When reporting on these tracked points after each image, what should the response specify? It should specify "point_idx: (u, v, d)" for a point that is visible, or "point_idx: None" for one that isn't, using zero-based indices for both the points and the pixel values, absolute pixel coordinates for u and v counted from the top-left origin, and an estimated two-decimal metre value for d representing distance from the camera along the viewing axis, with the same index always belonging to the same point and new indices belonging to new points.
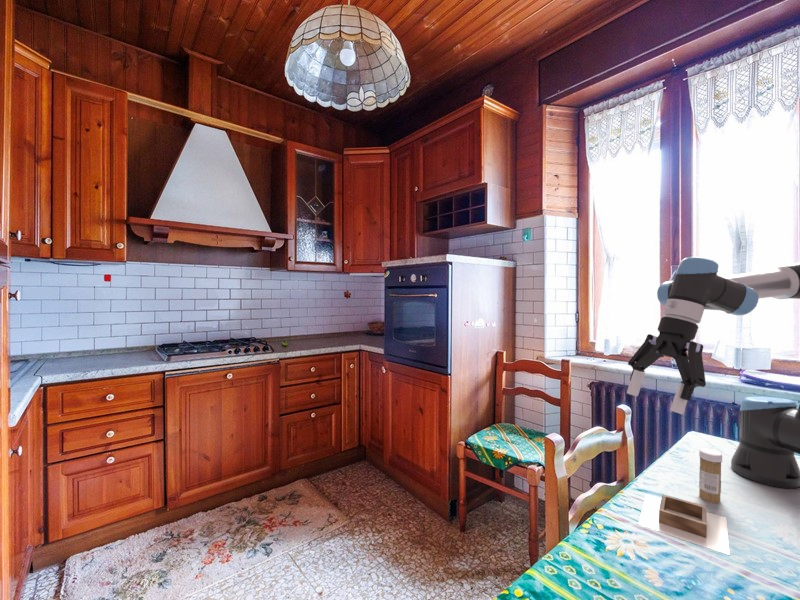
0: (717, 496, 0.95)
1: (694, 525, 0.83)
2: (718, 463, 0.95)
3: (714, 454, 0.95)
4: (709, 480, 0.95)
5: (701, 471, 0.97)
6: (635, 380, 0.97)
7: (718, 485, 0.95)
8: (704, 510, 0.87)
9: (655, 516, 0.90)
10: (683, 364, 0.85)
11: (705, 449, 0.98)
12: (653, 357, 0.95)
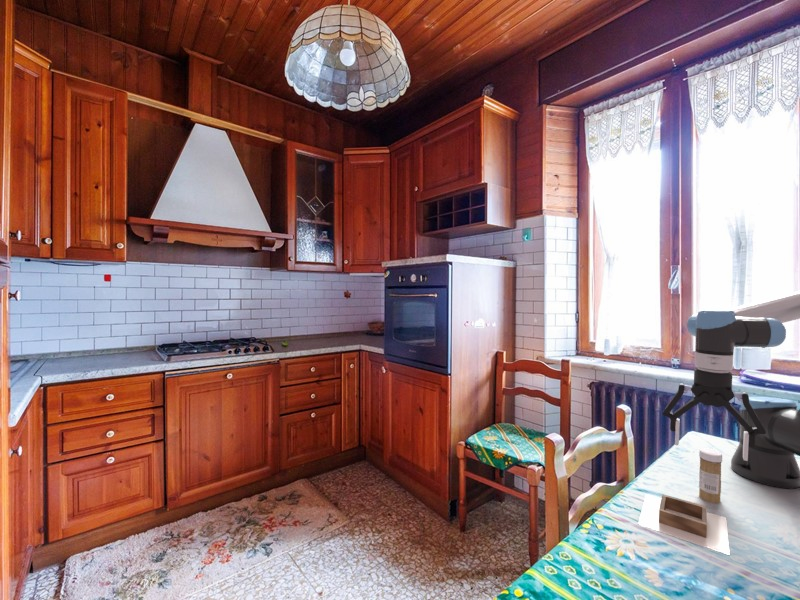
0: (717, 496, 0.95)
1: (694, 525, 0.83)
2: (718, 463, 0.95)
3: (714, 454, 0.95)
4: (709, 480, 0.95)
5: (701, 471, 0.97)
6: None
7: (718, 485, 0.95)
8: (704, 510, 0.87)
9: (655, 516, 0.90)
10: (739, 414, 0.92)
11: (705, 449, 0.98)
12: (692, 406, 0.99)
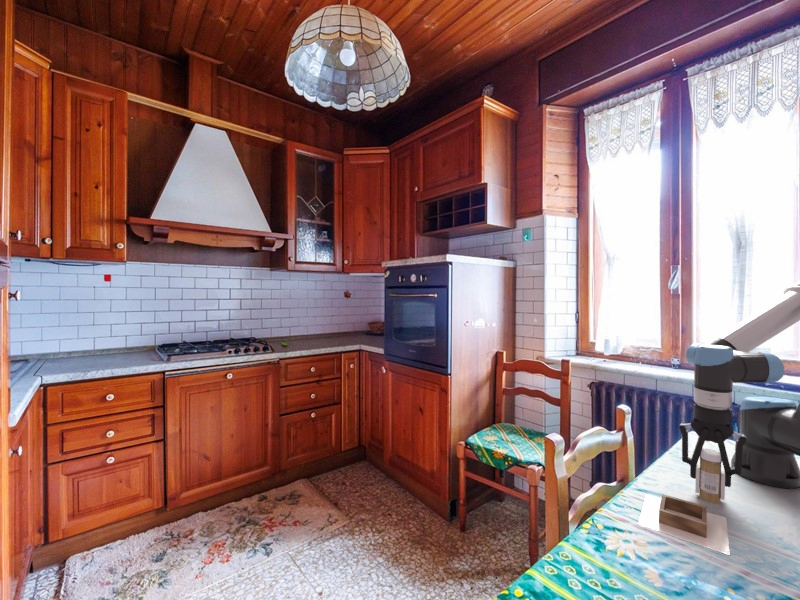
0: (717, 496, 0.95)
1: (694, 525, 0.83)
2: (718, 463, 0.95)
3: (714, 454, 0.95)
4: (709, 480, 0.95)
5: (701, 471, 0.97)
6: None
7: (718, 485, 0.95)
8: (704, 510, 0.87)
9: (655, 516, 0.90)
10: (726, 454, 0.94)
11: (705, 449, 0.98)
12: (702, 446, 0.98)
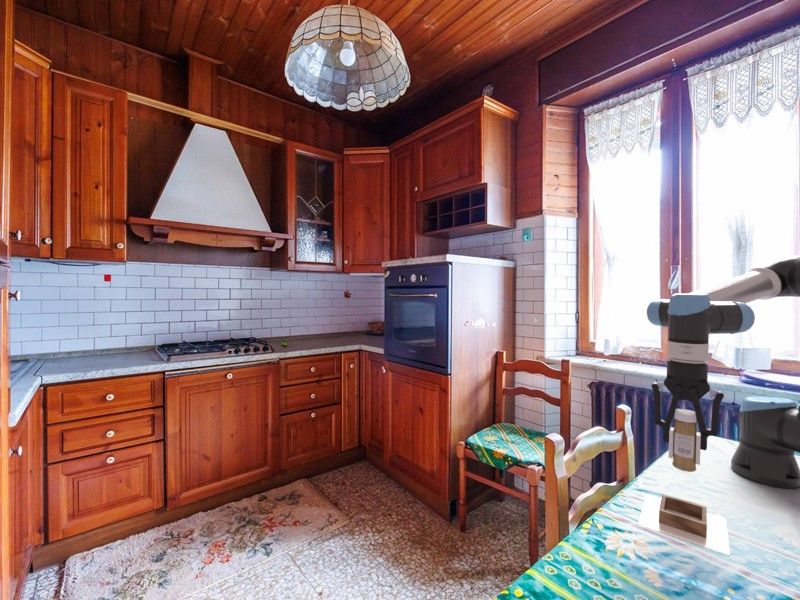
0: (692, 460, 0.85)
1: (694, 525, 0.83)
2: (693, 424, 0.85)
3: (688, 414, 0.85)
4: (683, 443, 0.86)
5: (675, 433, 0.87)
6: None
7: (693, 448, 0.85)
8: (704, 510, 0.87)
9: (655, 516, 0.90)
10: (702, 414, 0.85)
11: (680, 409, 0.88)
12: (676, 406, 0.88)
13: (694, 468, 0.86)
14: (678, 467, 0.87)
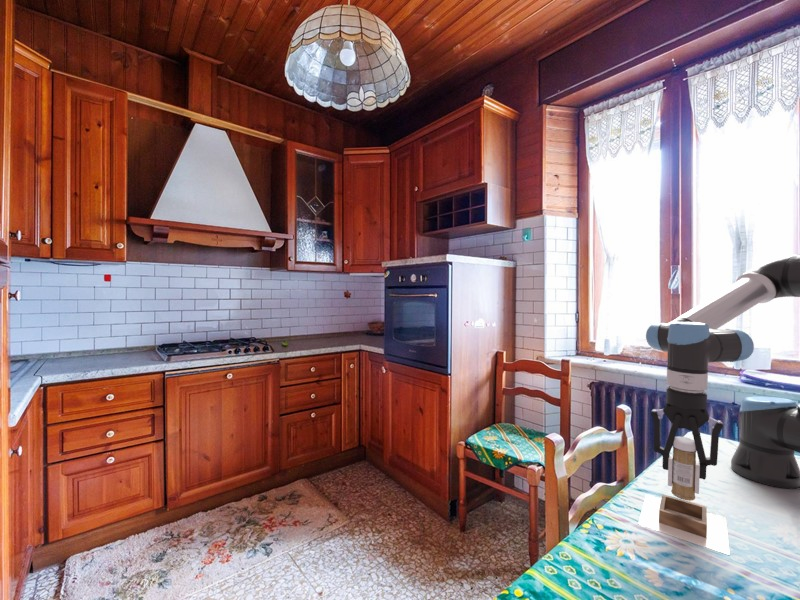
0: (691, 489, 0.86)
1: (694, 525, 0.83)
2: (692, 453, 0.85)
3: (688, 442, 0.85)
4: (683, 472, 0.86)
5: (674, 461, 0.88)
6: None
7: (692, 477, 0.85)
8: (704, 510, 0.87)
9: (655, 516, 0.90)
10: (701, 443, 0.85)
11: (679, 437, 0.88)
12: (675, 434, 0.88)
13: (693, 497, 0.86)
14: (677, 495, 0.87)
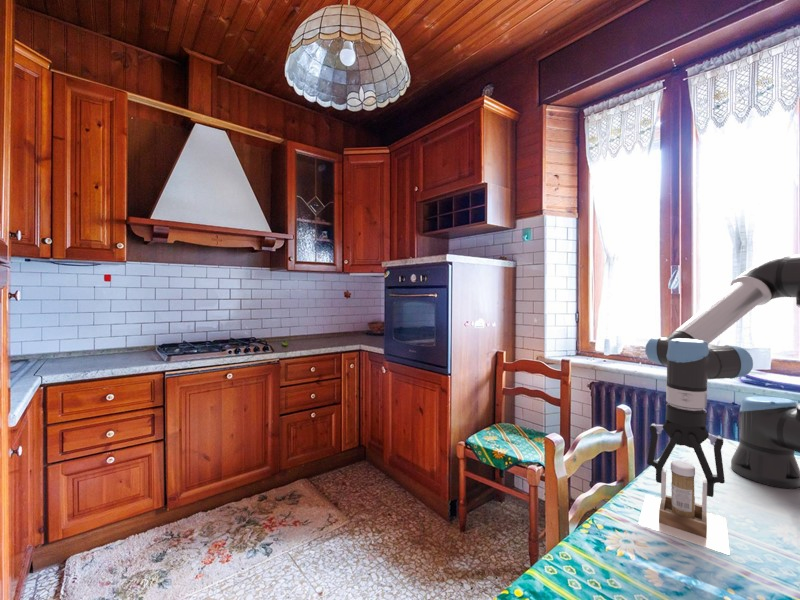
0: (691, 514, 0.86)
1: (694, 525, 0.83)
2: (690, 478, 0.86)
3: (686, 467, 0.86)
4: (682, 497, 0.86)
5: (673, 486, 0.88)
6: (665, 482, 0.89)
7: (691, 502, 0.86)
8: None
9: (655, 516, 0.90)
10: (705, 460, 0.84)
11: (677, 462, 0.89)
12: (672, 449, 0.89)
13: None
14: None
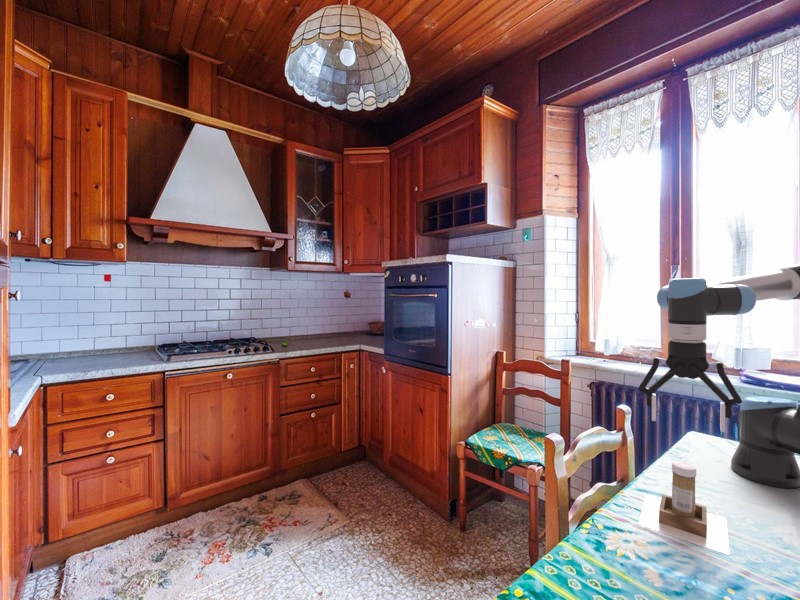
0: (691, 514, 0.86)
1: (694, 525, 0.83)
2: (691, 478, 0.85)
3: (687, 468, 0.86)
4: (682, 497, 0.86)
5: (673, 486, 0.88)
6: (655, 405, 0.97)
7: (692, 502, 0.86)
8: (704, 510, 0.87)
9: (655, 516, 0.90)
10: (715, 385, 0.89)
11: (678, 462, 0.89)
12: (667, 379, 0.95)
13: None
14: None
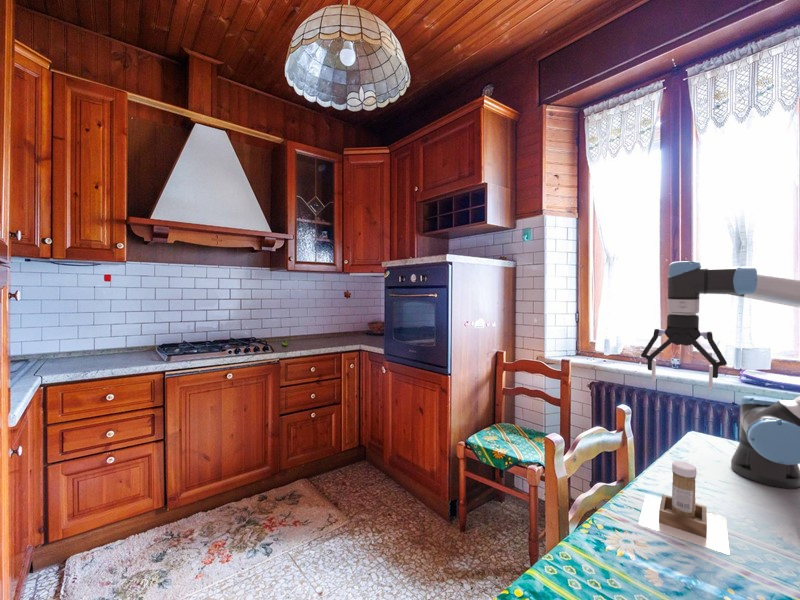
0: (691, 514, 0.86)
1: (694, 525, 0.83)
2: (692, 479, 0.85)
3: (687, 468, 0.86)
4: (682, 497, 0.86)
5: (674, 487, 0.88)
6: (655, 369, 1.15)
7: (692, 503, 0.86)
8: (704, 510, 0.87)
9: (655, 516, 0.90)
10: (705, 350, 1.07)
11: (678, 462, 0.89)
12: None
13: None
14: None
